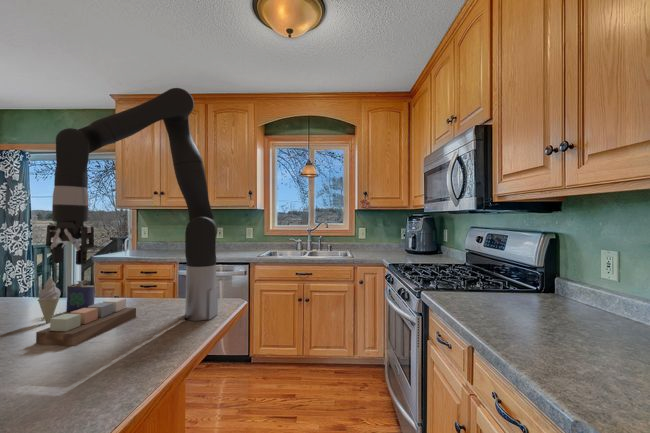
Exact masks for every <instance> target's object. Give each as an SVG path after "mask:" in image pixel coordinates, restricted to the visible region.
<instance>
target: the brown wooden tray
mask: <svg viewBox="0 0 650 433" xmlns="http://www.w3.org/2000/svg"><path fill="white" fill-rule="evenodd" d="M138 318H139V316H138V317H137V307H127V306H126V308H125V309H122V310H120V311H117V312H113V313H112V314H109V315H107V316H104V317H102V318H98V319H97V320H94V321H92V322H89V323H87V324H81V326H79V327H76V328H74V329H71V330H69V331H66V332H64V331H50V326H49V327H47V328H44V329H42V330H39V331H36V332H35V334H36V335H35V343H34V346H35V345H37V346H41V345H42V346H59V347H74V348H75V347H77V346H80V345H81V344H84V343H86V342H88V341H90V340H92V339H94V338H96V337H99V336H101V335H103V334H106V333H107V332H110V331H112V330H114V329H117V328H119V327H121V326H123V325H124V324H127V323H129V322H132V321H134V320H136V319H138Z"/></svg>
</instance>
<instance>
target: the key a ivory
mask: <svg viewBox="0 0 650 433" xmlns="http://www.w3.org/2000/svg"><path fill="white" fill-rule="evenodd" d="M102 303H113V312H117V311H120V310H122V309H125V308H126V307H127V298H125V297H124V298H123V297H121V298H120V297H112V298H110V299H107V300H103V301H102Z"/></svg>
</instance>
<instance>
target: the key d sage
mask: <svg viewBox="0 0 650 433" xmlns="http://www.w3.org/2000/svg"><path fill="white" fill-rule="evenodd" d="M49 324H50V326H49V327H50V331H64V332H66V331H69V330H71V329H74V328H76V327H79V326H81V314H70V313H64V314H61V315H58V316H55V317H54V316H53V317H52V318H51V319H50V323H49Z"/></svg>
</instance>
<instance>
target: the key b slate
mask: <svg viewBox="0 0 650 433" xmlns="http://www.w3.org/2000/svg"><path fill="white" fill-rule="evenodd" d="M88 308H98V318H102V317H104V316H107V315H109V314H112V313H113V303H103V302H97V303H94V305H91V306H88Z"/></svg>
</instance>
